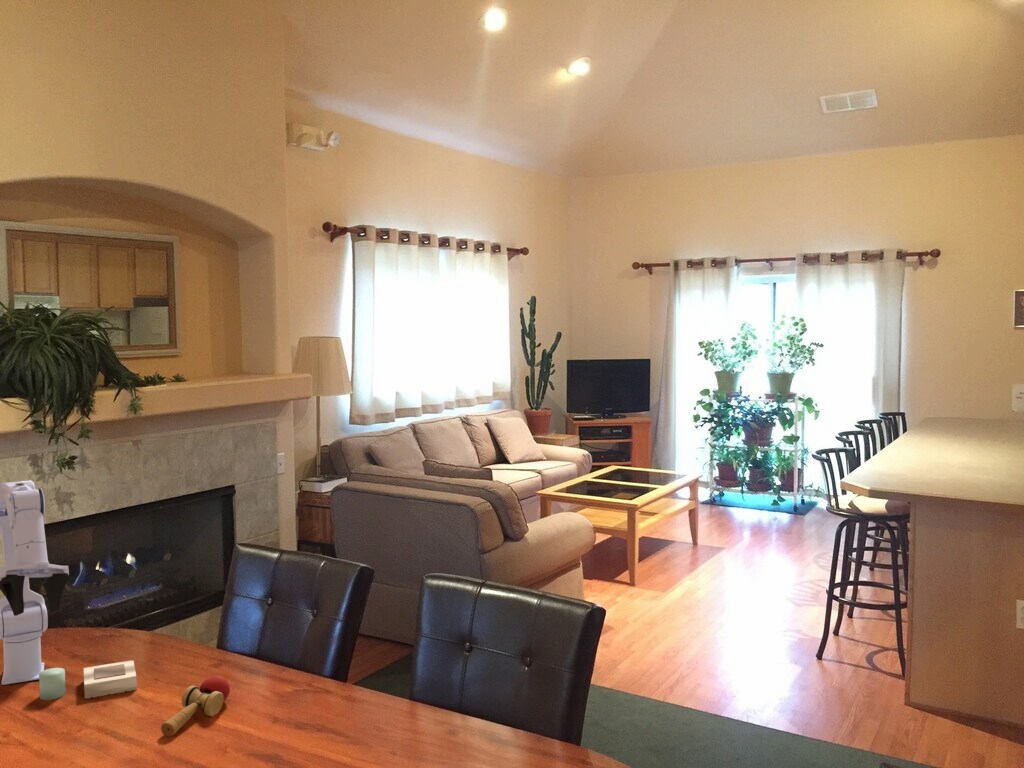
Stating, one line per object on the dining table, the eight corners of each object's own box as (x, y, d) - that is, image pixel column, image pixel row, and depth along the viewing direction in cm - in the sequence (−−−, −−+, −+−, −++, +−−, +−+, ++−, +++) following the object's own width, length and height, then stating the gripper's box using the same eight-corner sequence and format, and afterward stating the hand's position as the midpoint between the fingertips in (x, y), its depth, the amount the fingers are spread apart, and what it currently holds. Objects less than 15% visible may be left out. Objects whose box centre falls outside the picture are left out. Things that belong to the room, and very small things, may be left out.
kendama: (190, 746, 166) (242, 695, 183) (181, 716, 165) (235, 667, 182) (156, 747, 168) (211, 696, 185) (147, 717, 167) (203, 669, 184)
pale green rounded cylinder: (40, 693, 186) (39, 670, 186) (65, 689, 188) (64, 666, 188) (39, 702, 182) (38, 678, 181) (65, 697, 184) (64, 674, 183)
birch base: (84, 681, 192) (83, 667, 192) (133, 673, 197) (133, 659, 196) (84, 698, 183) (84, 683, 183) (136, 689, 188) (136, 675, 187)
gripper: (8, 539, 170) (14, 608, 166) (75, 540, 183) (83, 604, 178) (-15, 551, 173) (-9, 619, 168) (53, 551, 185) (60, 615, 181)
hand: (37, 613), depth 173 cm, fingers open, 7 cm apart
